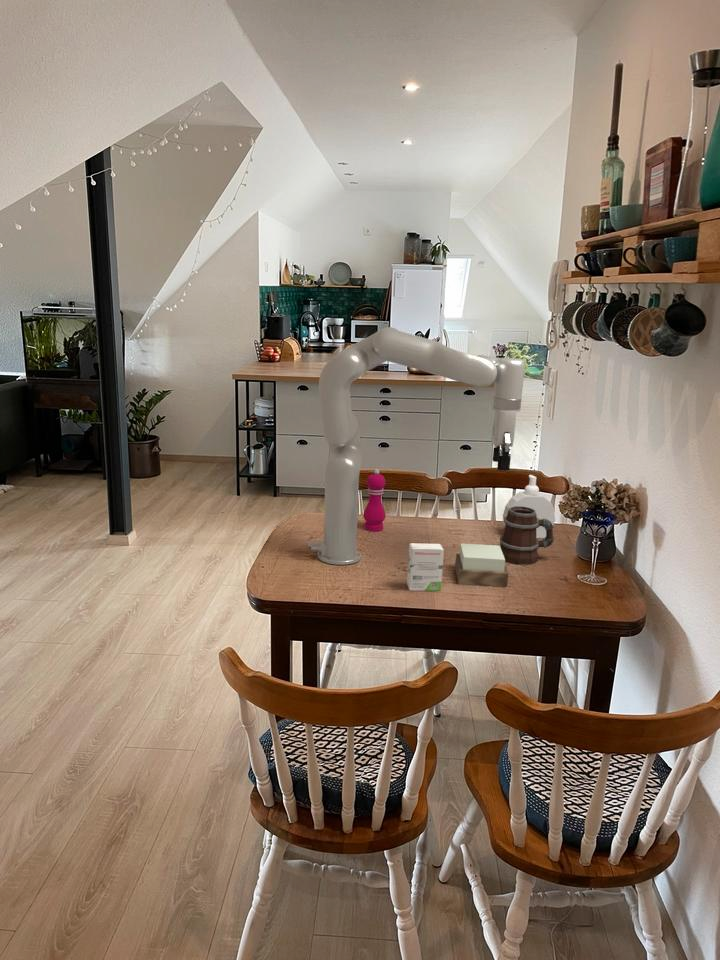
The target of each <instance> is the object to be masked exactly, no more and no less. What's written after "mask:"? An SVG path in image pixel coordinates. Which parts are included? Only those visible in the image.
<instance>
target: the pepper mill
mask: <svg viewBox="0 0 720 960" xmlns="http://www.w3.org/2000/svg"><path fill="white" fill-rule="evenodd" d="M366 484H367V486H368V488H367V490H368V491H367V493H368V497H369V498H368V502H367V505H366V506H365V509H364V510H363V514H362V515H363V516H362V517H363V520H364V521H365V522H364V524H363V525H364V526H363V529H364V530H366V531H368V532H381V531H383V530H384V526H385V525H384V523H383V522H384V521H385V519H386V511H385V509H384V505H383V502H382V496H383V494H384V487H385V485H386V479H385V477H384V476H383V475H382V474H381V473H380V470H379V469H377V468H376V469H374V470H373V473H371V474H369V476H367V479H366Z"/></svg>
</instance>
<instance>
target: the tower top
mask: <svg viewBox="0 0 720 960" xmlns="http://www.w3.org/2000/svg"><path fill="white" fill-rule="evenodd" d="M459 554H460V558H461V563H462V567H463V569H464V570H481V571H498V572H504V566H506V561H505V558H504V555H503V553H502V550H501V548H500V545H495V544H494V545H493V544H480V543H479V544H477V543H476V544H475V543H460V547H459Z"/></svg>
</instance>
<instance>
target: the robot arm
mask: <svg viewBox="0 0 720 960" xmlns="http://www.w3.org/2000/svg"><path fill="white" fill-rule="evenodd" d="M385 362H390V363H393V364H397V365H402V366H404V367H408V368H412V369H416V370H419V371H423V372H426V373H429V374H432V375H434V376H435V375H436V376H440V377H443V378H445V379H450V380H452V381H456V382H459V383H464V384H465V385H466V384H467V385H469V386H475V387H479V388H485V387H489V386H490V385H492V384H493V383H494V385H493V386H494V387H493V394H492V395H493V398H492V405H491V408H492V410H494V414H493V415H494V416H493V420H492V428H491V434H490V442H491V443H492V445H493V446H494V447H493V452H492V461H493V462H496V463H497V467H496V469H497V470H498V471H510V469H511V468H510V466H511V458H512V457H511V456H512V453H511V451H512V450H511V448H513V446H514V440H515V433H516V420H517V419H516V417H517V413H518V412H521V409H522V408H521V407H522V396H523V389H524V388H523V387H524V377H525V370H526V368H525V367H526V364H525V361H524V360H523V359H521V358H516V357H494V356H490V355H489V356H488V355H483V354H481V355H479V354H478V355H474V354H469V353H466V352H462V351H459V350H456V349H454V348H452V347H448V346H447V345H445V344H443V343H441V342H439V341H437V340H434V339H429V338H426V337H423V336H422V337H421V336H418V335H415V334H410V333H407V332H405V331H404V332H403V331H401V330H398V329H397V328H395V327H392V326H387V327H386V326H385V327H383V328H381V329H379V330H377V331H376V332H375V333H373V334H371V335H370V336H367V337H365V338H363V339H362V340H359V341H357V342H355V343H354V344H352V345H349V346H348V347H346V348H345V349H343V350H341V351H340V352H338V353H337V354H336V355H334V356H333V357H332V358H330V359H329V361H328V362H326V363H325V364H324V367H323V368H322V370H321V372H320V375H319V380H318V392H319V403H320V415H321V427H322V435H323V438H324V440H325V441H326V443H327V445H328V453H329V457H328V458H327V461H326V464H325V466H324V467H325V468H324V515H323V516H324V519H323V521H324V523H323V539H322V540H320V541H319V542H318V541H309V540H308V542H307V543H308V544H307V548H308V549H311V551H318V552H317V559H318V560H320V561H322V562H323V563H326V564H331V565H334V566H335V565H337V566H340V565H341V566H346V565H352V564H355V563H357V562H359V561H361V559H362V554H361V552H360V551H359V550H358V549H357V540H358V539H357V535H358V517H359V516H358V514H359V513H358V512H359V490H360V489H359V486H360V485H359V482H360V472H361V468H362V466H363V465H362V464H363V454H362V452H363V451H362V444H361V435H360V426H359V421H358V418H357V415H355V414H354V412H353V410H352V400H351V399H352V397H351V393H350V392H351V391H350V388H351V384H352V383H353V382H354V381H356V380H357V379H359V378H360V377H362V376H363V374H364V373H367V372H368V371H370V370H372V369H374V368H376V367H378V366H380V365H382V364H383V363H385Z"/></svg>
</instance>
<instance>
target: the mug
mask: <svg viewBox="0 0 720 960" xmlns="http://www.w3.org/2000/svg"><path fill="white" fill-rule="evenodd" d="M504 523H505V527H504V529H503V533H502V536H500V538H499V546H500V548H501V550H502V553H503V555H504V558H505V563H511V564H515V565H531V564H534V563H536V562H538V560H539V552H538V549H539V548H544V549H545V548H548V547H550V546H551V545H552V544H553V543H554V540H555V537H554V532H553V530H554V525H552V523H551V522H550V521H549V520H548V519H545V518H543V519H539V518H537V515H536V511H535V510H534V509H531V508H528V507H523V506H514V507H511V508H510V509H509V510H508V514H507V516H506V517H504ZM539 526H543V527H545V529H546V537H545V538H542V539H541V540H540V539H539V538H536V528H539Z"/></svg>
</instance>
